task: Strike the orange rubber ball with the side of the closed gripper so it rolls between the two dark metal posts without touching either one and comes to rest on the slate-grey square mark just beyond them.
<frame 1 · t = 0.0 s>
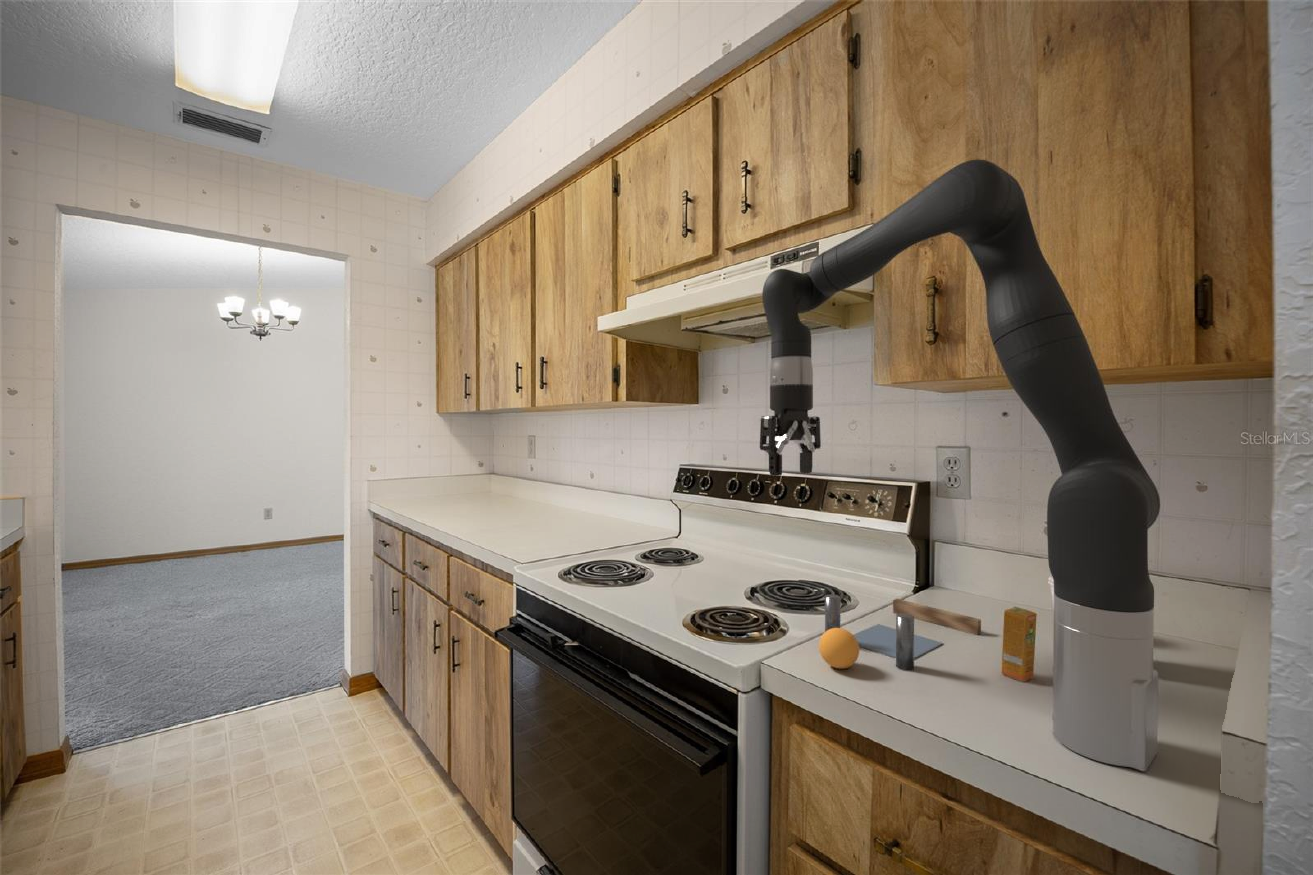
hand: (791, 474, 101), 29 cm above the counter, tool pointing down, fingers open, 8 cm apart
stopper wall: (934, 622, 108), on the counter
supplement box: (1018, 677, 85), on the counter
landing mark: (891, 642, 98), on the counter
post outer: (832, 642, 98), on the counter
post inner: (905, 666, 88), on the counter
beverage bottle: (1116, 664, 89), on the counter
smoothie: (1069, 633, 102), on the counter
ball: (838, 647, 88), on the counter
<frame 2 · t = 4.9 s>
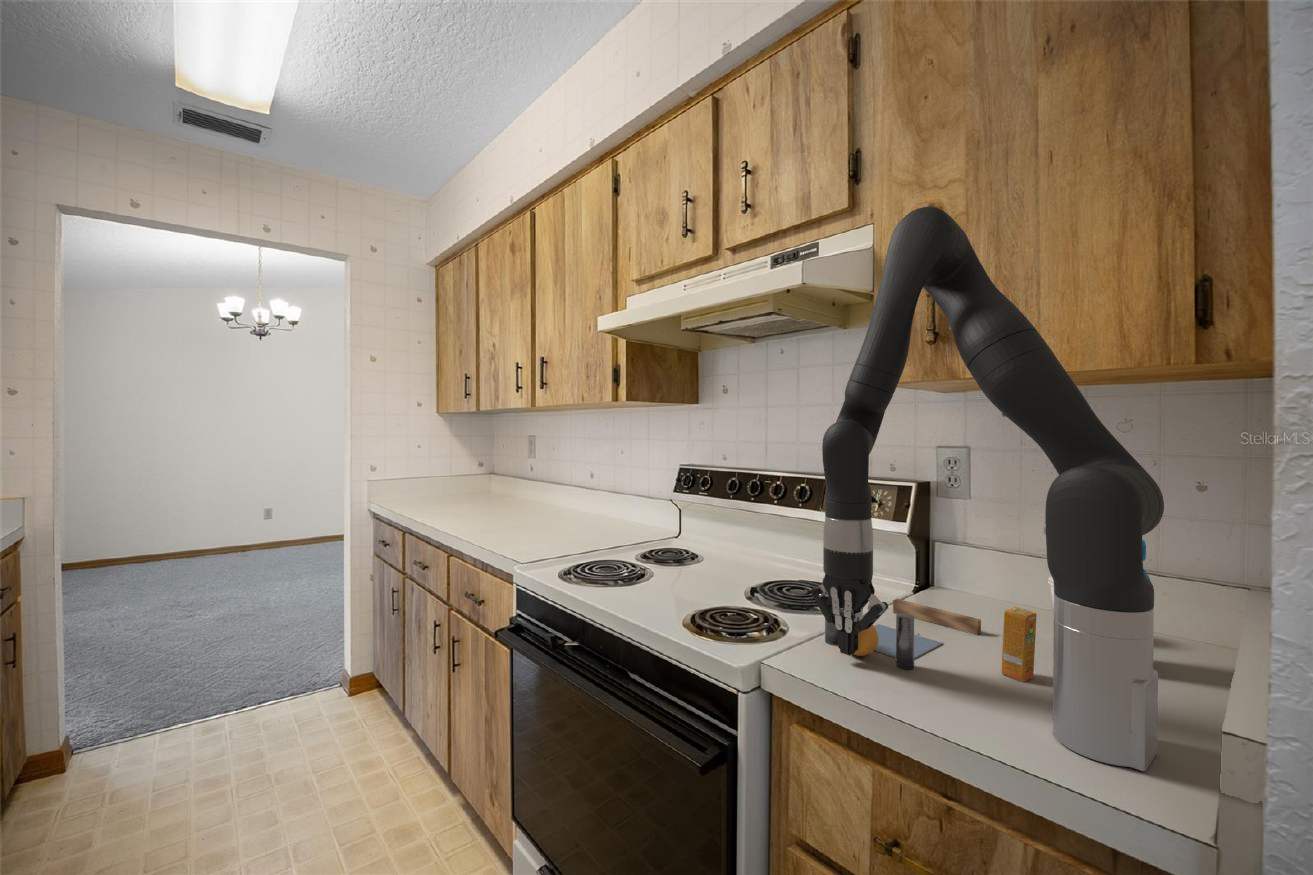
hand: (847, 653, 90), 2 cm above the counter, tool pointing down, fingers closed
ball: (859, 636, 93), on the counter
everything else where it was.
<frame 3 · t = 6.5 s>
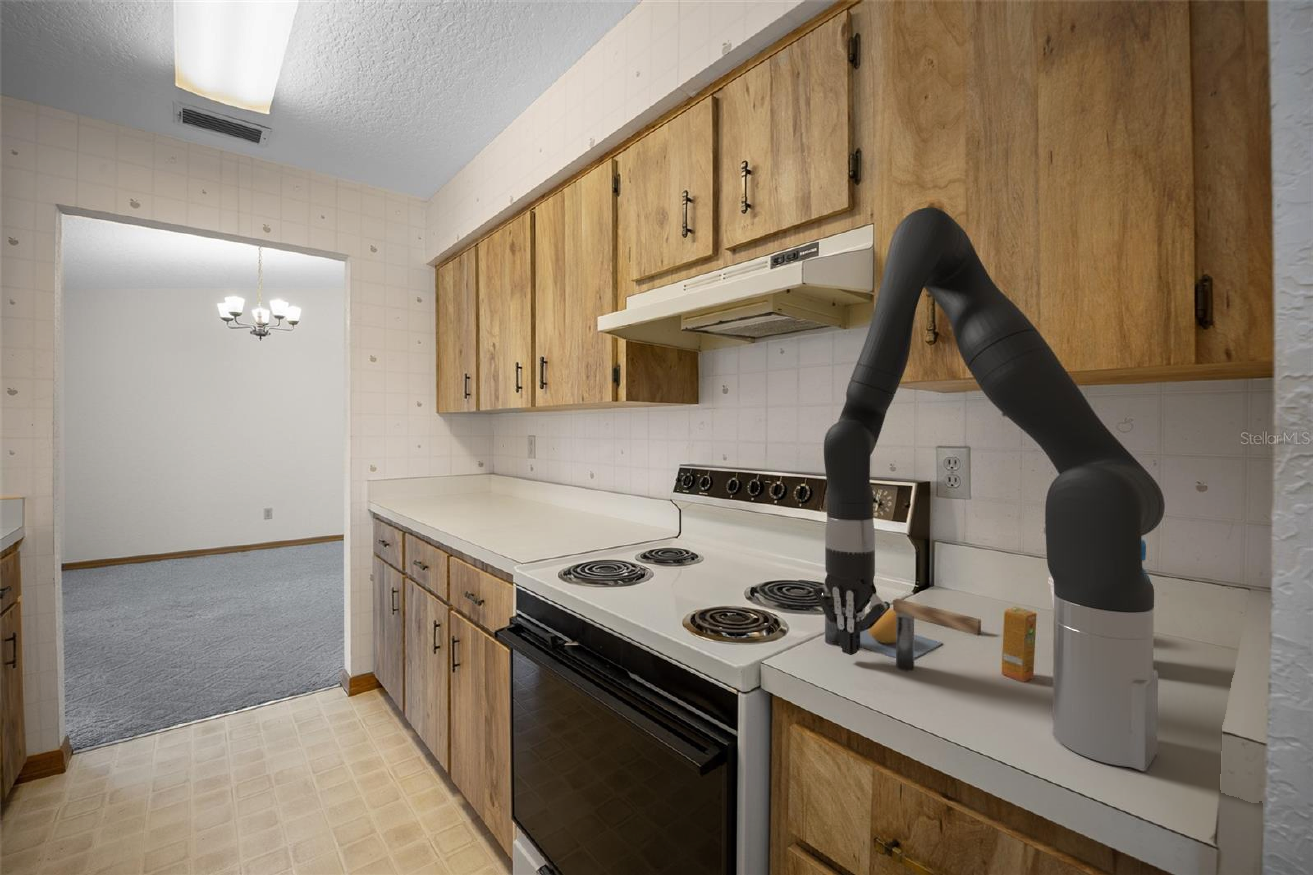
hand: (849, 652, 90), 1 cm above the counter, tool pointing down, fingers closed
ball: (884, 625, 98), on the counter
everything else where it was.
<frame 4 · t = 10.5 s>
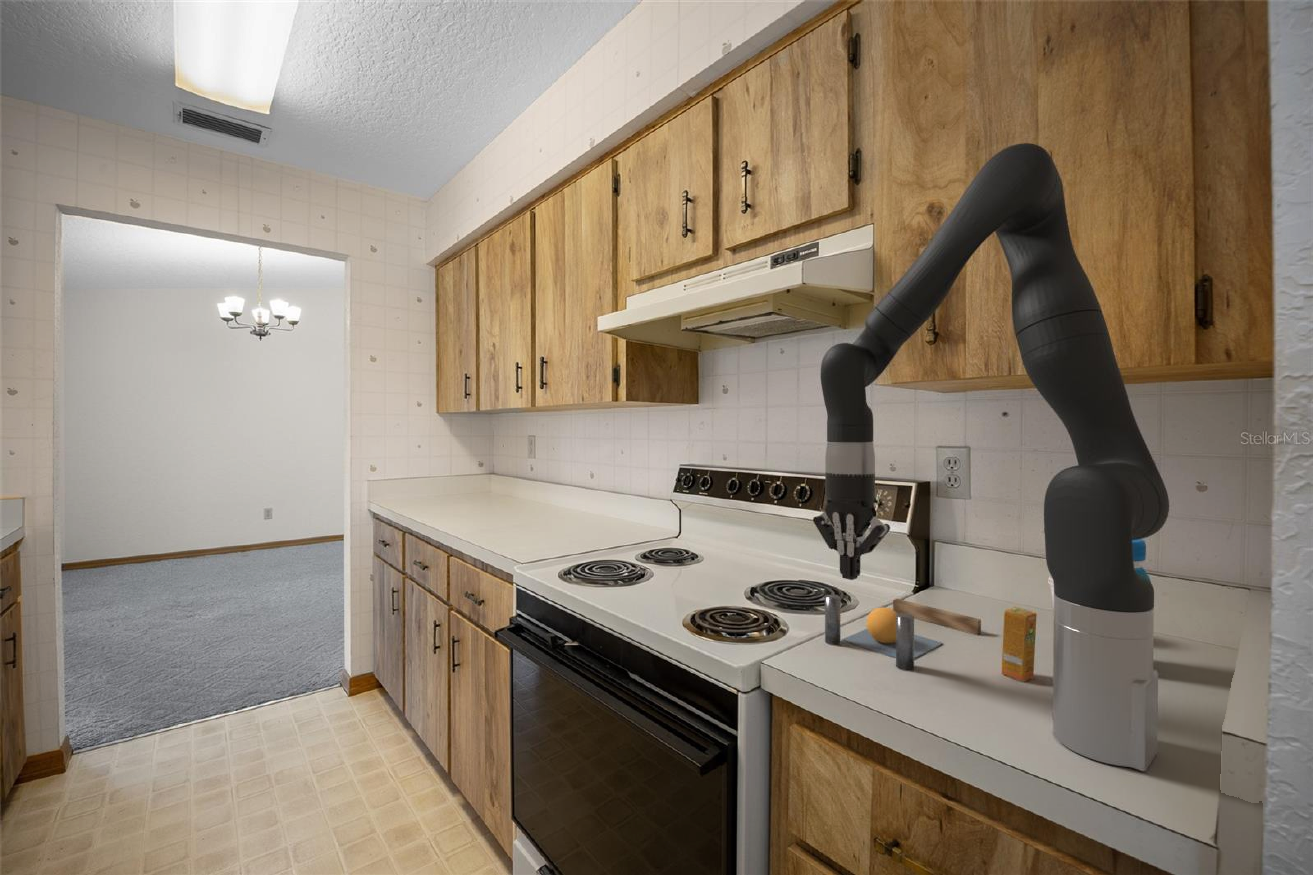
hand: (849, 578, 90), 13 cm above the counter, tool pointing down, fingers closed
nothing on the counter moved.
at the end: ball 1.3 cm from the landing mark (horizontally); ball never touched post inner; ball never touched post outer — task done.
